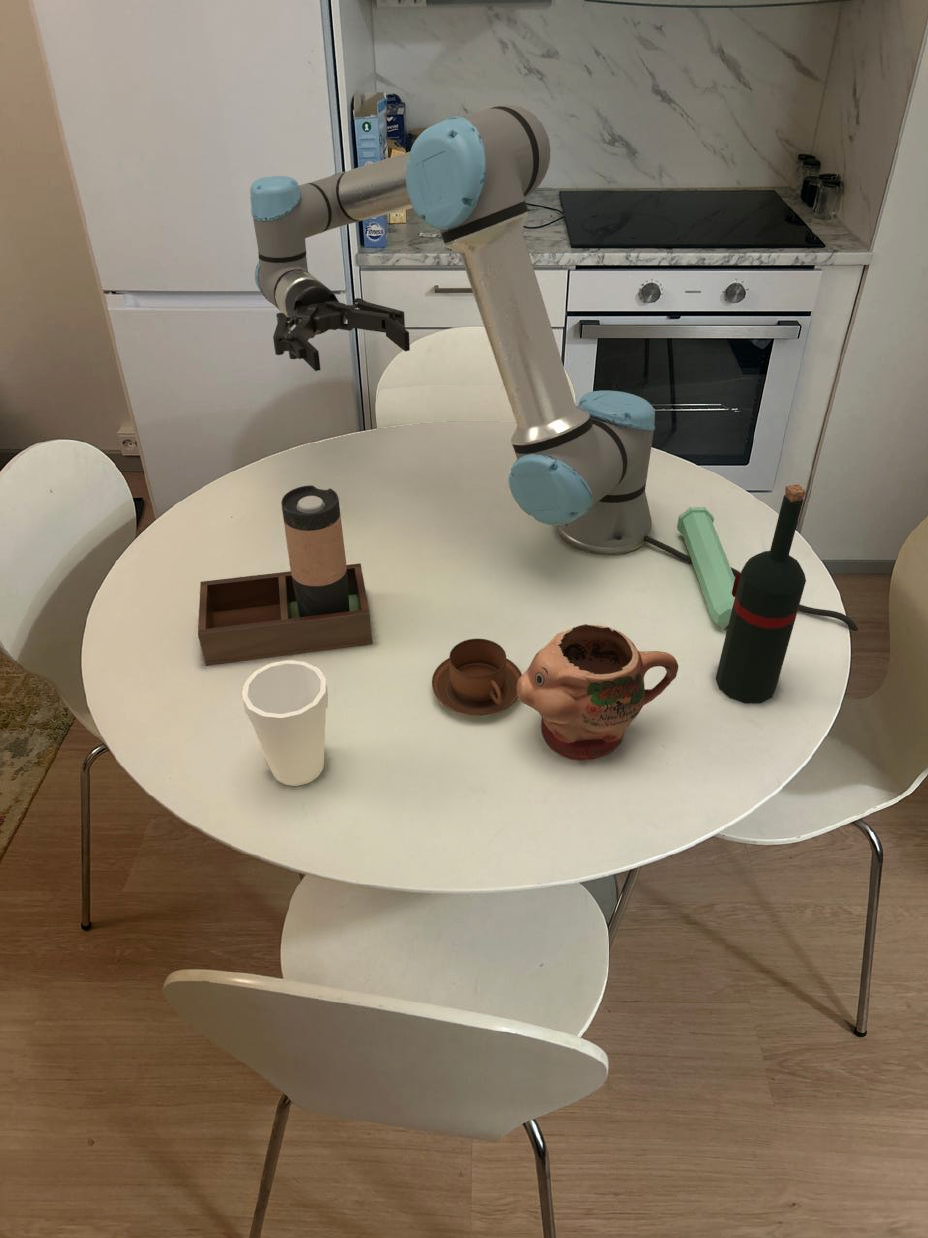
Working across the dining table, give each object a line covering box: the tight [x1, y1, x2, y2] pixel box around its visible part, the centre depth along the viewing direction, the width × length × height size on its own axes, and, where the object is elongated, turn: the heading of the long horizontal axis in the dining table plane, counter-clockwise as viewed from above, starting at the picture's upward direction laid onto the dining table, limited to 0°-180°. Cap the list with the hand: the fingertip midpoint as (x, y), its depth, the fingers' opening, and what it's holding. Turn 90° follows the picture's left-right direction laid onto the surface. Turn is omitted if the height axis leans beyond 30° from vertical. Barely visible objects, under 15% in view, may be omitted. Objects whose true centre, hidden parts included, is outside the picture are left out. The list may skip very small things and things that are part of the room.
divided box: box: [197, 563, 373, 666], centre depth 130 cm, size 12×23×6 cm, turn 101°
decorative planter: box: [517, 623, 679, 761], centre depth 111 cm, size 20×12×14 cm, turn 107°
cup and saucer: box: [431, 638, 523, 717], centre depth 119 cm, size 12×12×6 cm
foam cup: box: [241, 659, 329, 787], centre depth 107 cm, size 10×9×13 cm
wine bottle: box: [715, 483, 807, 704], centre depth 114 cm, size 8×10×30 cm
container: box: [676, 506, 735, 630], centre depth 138 cm, size 6×6×25 cm
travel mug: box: [281, 484, 350, 617], centre depth 126 cm, size 8×8×20 cm
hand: (363, 351), depth 127 cm, fingers open, 13 cm apart
